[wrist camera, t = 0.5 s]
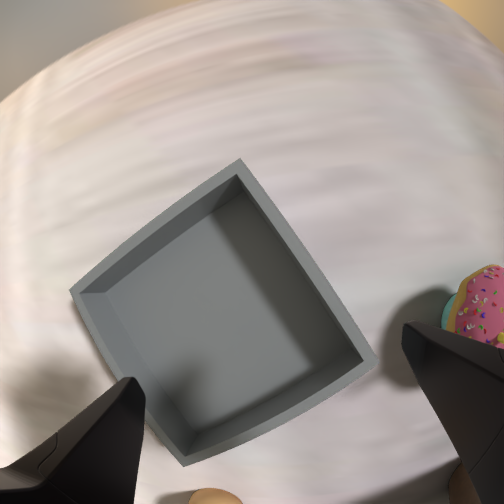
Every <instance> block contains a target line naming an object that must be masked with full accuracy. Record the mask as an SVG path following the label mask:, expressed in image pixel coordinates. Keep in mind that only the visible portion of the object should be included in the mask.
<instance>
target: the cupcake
mask: <svg viewBox="0 0 504 504" xmlns="http://www.w3.org/2000/svg"><path fill="white" fill-rule="evenodd" d="M441 328H442V329H444V330H447V331H450V332H453V333H456V334H459V335H462V336H465V337H468V338H471V339H474V340H477V341H481V342H484V343H487V344H490V345H493V346H496V347H497V348H502V349H504V268H502V267H501V266H499V265H489V266H486V267H484V268H482V269H480V270H478V271H476V272H475V273H473V274H471V275H470V276H468V277H467V278H465V279H464V280H463V281H462V282H461V284H460V286H459V289H458V292H457V293H456V294H455V295H454V296H452V297H451V298H450V300H449V301H448V302H447V304H446V306H445V308H444V310H443V314H442V319H441Z"/></svg>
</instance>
